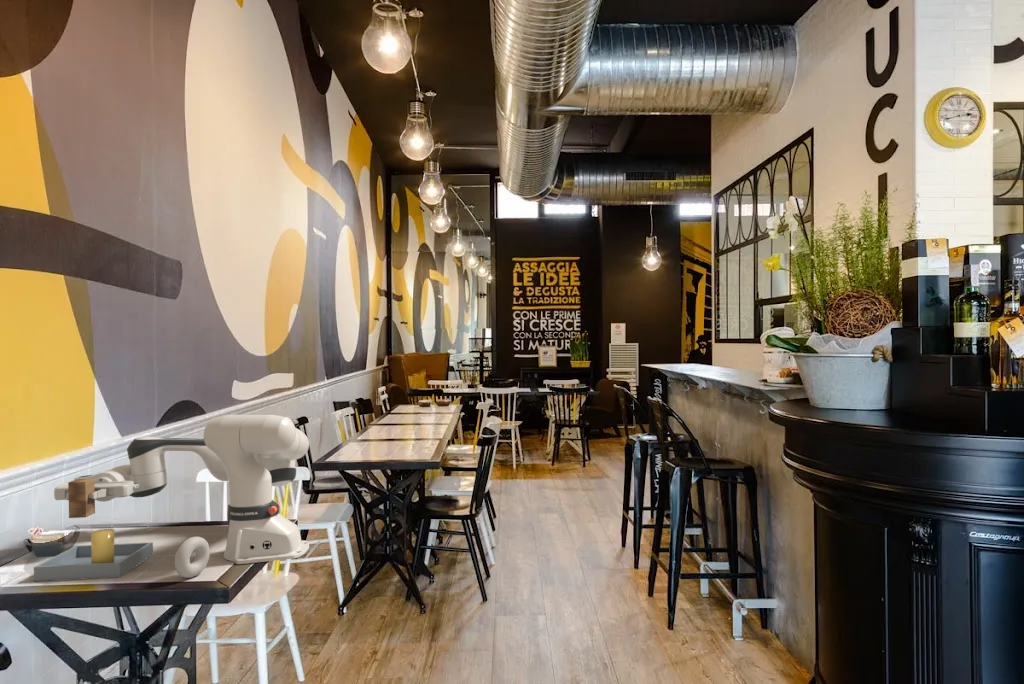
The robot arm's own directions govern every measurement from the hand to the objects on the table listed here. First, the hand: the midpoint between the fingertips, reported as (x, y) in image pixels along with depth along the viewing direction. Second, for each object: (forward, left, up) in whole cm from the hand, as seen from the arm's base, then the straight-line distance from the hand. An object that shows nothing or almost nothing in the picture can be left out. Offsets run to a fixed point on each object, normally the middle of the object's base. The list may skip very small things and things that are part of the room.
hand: (79, 496), depth 177 cm
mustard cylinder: (-14, +16, -16) cm, 27 cm away
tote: (-10, +11, -17) cm, 23 cm away
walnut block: (0, -1, -6) cm, 6 cm away
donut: (-39, +22, -17) cm, 48 cm away
